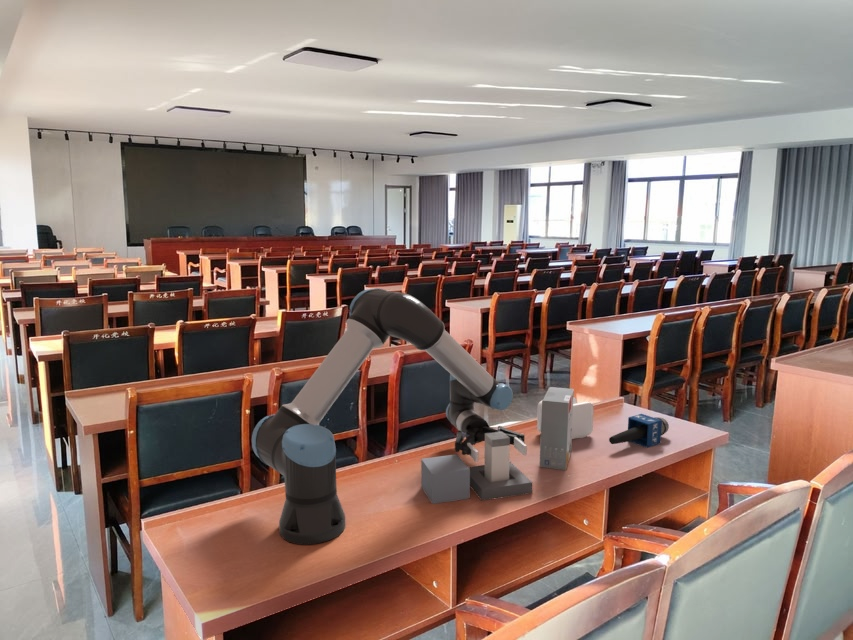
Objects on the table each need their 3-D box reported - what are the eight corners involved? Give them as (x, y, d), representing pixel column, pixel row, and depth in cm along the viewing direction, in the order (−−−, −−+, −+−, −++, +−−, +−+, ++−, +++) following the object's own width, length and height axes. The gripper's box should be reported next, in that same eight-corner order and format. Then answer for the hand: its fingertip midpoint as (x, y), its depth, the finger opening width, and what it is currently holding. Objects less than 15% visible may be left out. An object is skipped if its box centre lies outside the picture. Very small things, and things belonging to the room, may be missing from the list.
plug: (491, 490, 160) (491, 439, 158) (484, 482, 165) (484, 433, 163) (509, 488, 162) (509, 437, 159) (501, 480, 167) (502, 431, 164)
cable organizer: (555, 444, 192) (556, 409, 190) (535, 433, 201) (536, 399, 199) (593, 436, 198) (594, 402, 196) (572, 426, 208) (573, 393, 206)
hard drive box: (566, 471, 172) (568, 403, 168) (539, 468, 174) (540, 400, 171) (571, 451, 186) (574, 388, 183) (546, 448, 189) (548, 385, 185)
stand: (432, 504, 153) (432, 474, 152) (421, 487, 163) (421, 458, 161) (469, 498, 156) (469, 468, 155) (456, 482, 166) (456, 454, 164)
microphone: (602, 424, 187) (654, 409, 200) (601, 448, 188) (653, 432, 202) (623, 431, 180) (675, 416, 194) (621, 456, 182) (673, 439, 195)
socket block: (481, 500, 155) (481, 489, 154) (463, 477, 168) (463, 467, 168) (532, 493, 159) (532, 482, 158) (510, 471, 172) (510, 461, 172)
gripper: (512, 434, 183) (544, 461, 163) (432, 443, 176) (456, 473, 156) (512, 410, 182) (545, 434, 162) (432, 418, 175) (456, 445, 155)
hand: (501, 453), depth 159 cm, fingers open, 13 cm apart
